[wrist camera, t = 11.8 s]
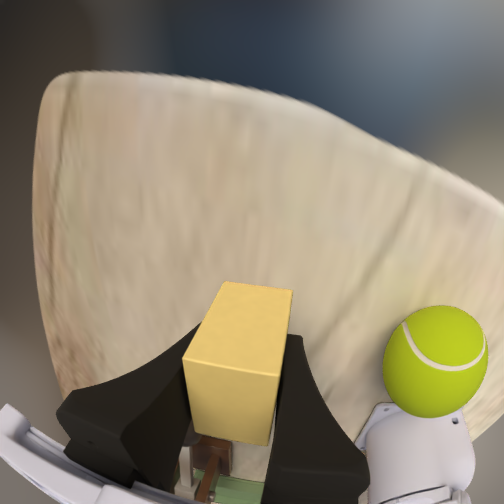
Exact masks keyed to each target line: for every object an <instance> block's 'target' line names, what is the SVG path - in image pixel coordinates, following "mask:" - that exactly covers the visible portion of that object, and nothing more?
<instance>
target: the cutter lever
mask: <svg viewBox="0 0 504 504" xmlns="http://www.w3.org/2000/svg"><path fill="white" fill-rule="evenodd" d="M201 437H202V434H200V433H196V432H195V429H194V424H193V419H192V420H191V422H190V425H189V428H188V431H187V434H186V437H185V440H184V443H183V446H182V449H181V452H180V455H179V463H180V475H181V476H180V478H179V480H178V482H177V484H176V486H175V488H174V489H175V495H177V496H181V497H184V498H187V499H191V500H195V499H196V496H197V493H198V491H199V488H200V485H201V479H197V478H194V476H193V445H195V444H197V443H198V442H199V441H200V439H201Z"/></svg>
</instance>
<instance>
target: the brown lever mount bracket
mask: <svg viewBox="0 0 504 504" xmlns="http://www.w3.org/2000/svg"><path fill="white" fill-rule="evenodd" d="M193 468H197V469H201V470H205V473H204V476H203V479H202V482H201V485H200V488H199V491H198V493H197V496H196V499H195V501H198V502H202V503H206V504H211V502H214V500H215V497H216V492H215V489H216V486H217V482H218V479H219V476H220V474H223V475H227V476H230V474H231V470H232V457H231V442H230V441H225V440H221V439H216V438H212V437H207V436H203V435H202V437H201V439H200V441H199V442H198V443H197V444H195V445H193ZM180 476H181V475H180V463H179V459H178V462H177V466H176V469H175V473H174V476H173V480H172V484H171V488H170V492H169V493H171V494H174V495H175V489H174V488H175V486H176V484H177V482H178V480H179V478H180Z"/></svg>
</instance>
